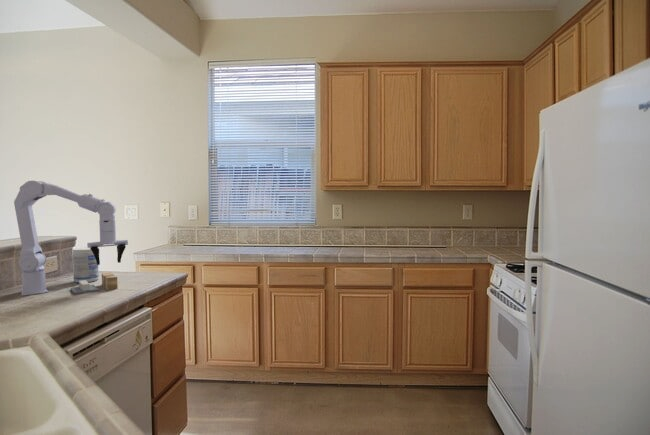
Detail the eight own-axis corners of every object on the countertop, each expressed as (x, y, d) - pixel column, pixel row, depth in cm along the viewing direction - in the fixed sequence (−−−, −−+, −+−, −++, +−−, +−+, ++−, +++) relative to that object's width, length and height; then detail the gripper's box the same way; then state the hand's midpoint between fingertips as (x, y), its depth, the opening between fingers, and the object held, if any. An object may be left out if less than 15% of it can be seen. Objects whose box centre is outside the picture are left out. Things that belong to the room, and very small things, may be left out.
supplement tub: (94, 282, 163) (92, 249, 162) (69, 283, 161) (68, 250, 160) (102, 278, 172) (100, 246, 171) (79, 279, 170) (77, 247, 169)
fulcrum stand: (70, 289, 151) (70, 281, 151) (93, 286, 156) (93, 278, 156) (74, 294, 143) (74, 286, 143) (98, 290, 149) (98, 283, 148)
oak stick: (102, 285, 159) (101, 273, 159) (111, 283, 161) (110, 272, 161) (108, 290, 150) (107, 278, 150) (117, 289, 152) (117, 277, 152)
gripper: (89, 233, 147) (90, 266, 147) (129, 230, 156) (130, 262, 157) (85, 231, 152) (87, 264, 153) (125, 229, 161) (126, 260, 162)
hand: (108, 263), depth 155 cm, fingers open, 7 cm apart
